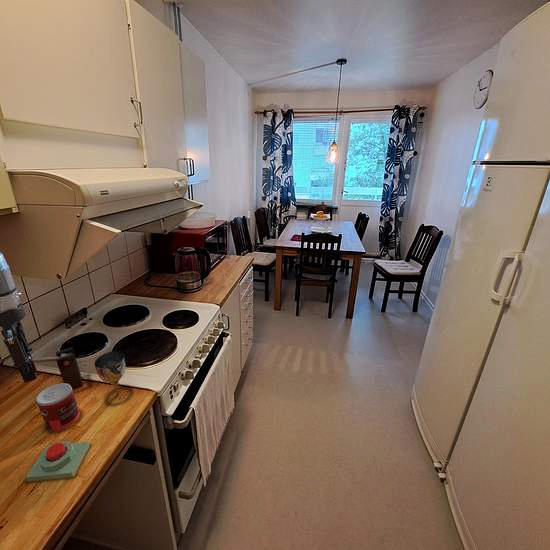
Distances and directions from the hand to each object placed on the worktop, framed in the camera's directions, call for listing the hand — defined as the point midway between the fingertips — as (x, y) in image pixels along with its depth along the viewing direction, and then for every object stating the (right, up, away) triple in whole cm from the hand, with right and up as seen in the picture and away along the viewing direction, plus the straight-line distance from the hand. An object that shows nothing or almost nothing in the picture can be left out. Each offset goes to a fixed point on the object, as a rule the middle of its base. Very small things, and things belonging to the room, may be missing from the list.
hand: (30, 376), depth 86 cm
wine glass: (+24, -9, +5) cm, 26 cm away
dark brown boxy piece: (+7, -7, +9) cm, 13 cm away
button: (+20, -13, -16) cm, 29 cm away
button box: (+20, -17, -15) cm, 30 cm away
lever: (+3, +3, +1) cm, 4 cm away
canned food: (+13, -12, -4) cm, 18 cm away
